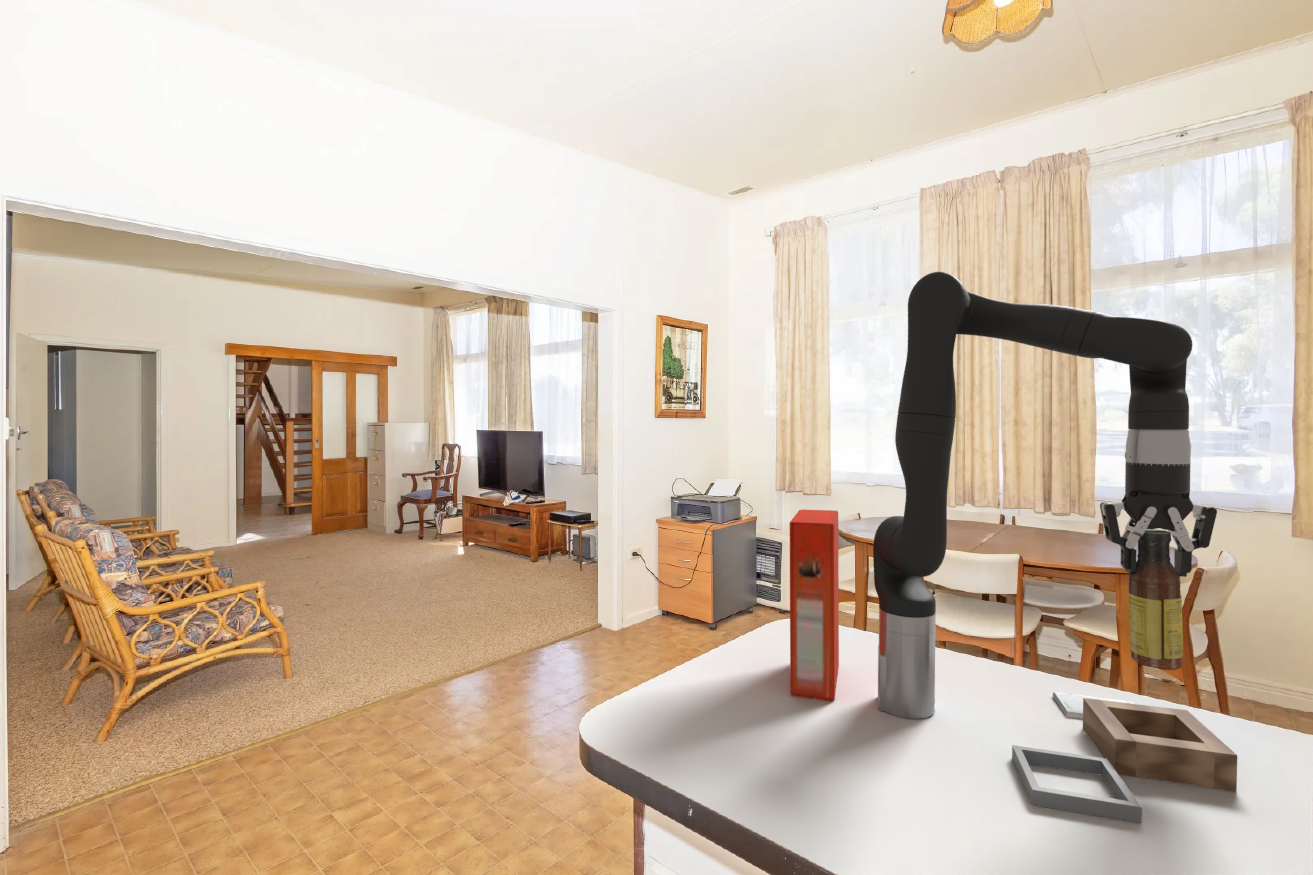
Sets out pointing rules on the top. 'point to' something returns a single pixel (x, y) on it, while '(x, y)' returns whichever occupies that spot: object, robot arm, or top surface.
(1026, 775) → the square frame
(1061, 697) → the hard drive
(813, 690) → the file binder
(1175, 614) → the sauce bottle
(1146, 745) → the holder
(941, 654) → the top surface
